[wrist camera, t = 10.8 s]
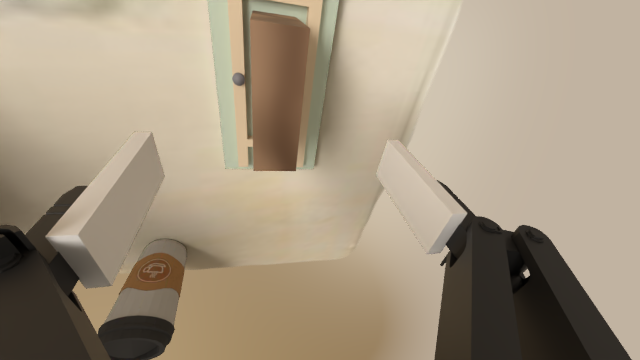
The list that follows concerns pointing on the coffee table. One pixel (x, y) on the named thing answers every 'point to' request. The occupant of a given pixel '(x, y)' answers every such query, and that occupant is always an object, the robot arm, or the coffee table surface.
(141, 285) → the coffee cup
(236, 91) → the mint cabinet door
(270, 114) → the brown wooden picture frame
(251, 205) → the coffee table surface
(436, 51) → the coffee table surface
